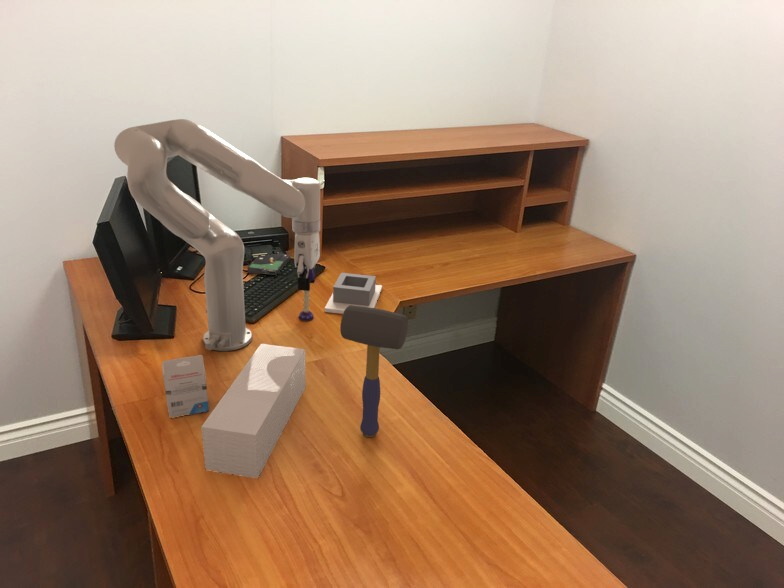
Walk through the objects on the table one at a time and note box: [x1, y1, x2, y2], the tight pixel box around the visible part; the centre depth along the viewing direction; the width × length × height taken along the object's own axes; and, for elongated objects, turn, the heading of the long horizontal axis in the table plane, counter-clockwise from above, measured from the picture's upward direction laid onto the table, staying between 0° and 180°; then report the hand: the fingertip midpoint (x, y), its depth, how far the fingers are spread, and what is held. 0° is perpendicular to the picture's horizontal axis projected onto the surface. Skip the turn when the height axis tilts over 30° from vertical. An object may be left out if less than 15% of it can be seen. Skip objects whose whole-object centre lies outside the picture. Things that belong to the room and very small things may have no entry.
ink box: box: [161, 354, 210, 419], centre depth 135 cm, size 8×5×15 cm, turn 114°
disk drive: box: [247, 252, 291, 275], centre depth 212 cm, size 10×3×15 cm
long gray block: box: [200, 343, 307, 479], centre depth 133 cm, size 32×11×11 cm, turn 171°
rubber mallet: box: [339, 305, 409, 438], centre depth 128 cm, size 12×8×30 cm, turn 73°
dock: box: [324, 272, 383, 315], centre depth 191 cm, size 20×14×6 cm
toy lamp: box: [298, 265, 316, 322], centre depth 176 cm, size 5×5×17 cm
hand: (306, 285), depth 175 cm, fingers closed on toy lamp, 4 cm apart
